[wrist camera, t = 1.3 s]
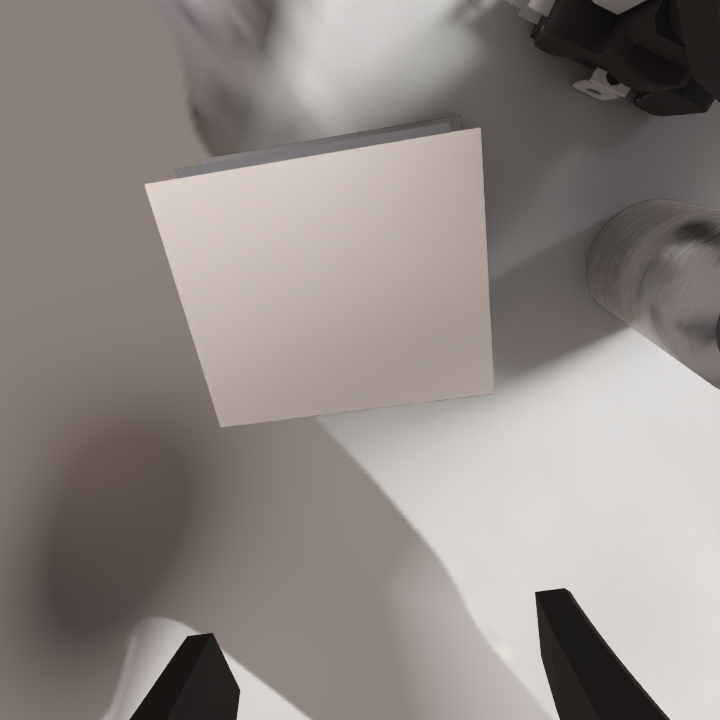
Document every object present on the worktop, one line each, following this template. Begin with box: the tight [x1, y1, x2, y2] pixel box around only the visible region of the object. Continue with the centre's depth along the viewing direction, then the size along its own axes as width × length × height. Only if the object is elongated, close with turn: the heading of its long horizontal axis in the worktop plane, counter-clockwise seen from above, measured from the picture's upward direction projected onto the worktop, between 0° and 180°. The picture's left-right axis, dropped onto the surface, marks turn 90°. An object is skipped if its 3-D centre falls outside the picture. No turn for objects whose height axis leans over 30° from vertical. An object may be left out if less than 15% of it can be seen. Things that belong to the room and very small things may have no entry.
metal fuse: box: [586, 199, 720, 389], centre depth 14 cm, size 4×4×7 cm
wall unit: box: [145, 115, 494, 427], centre depth 14 cm, size 8×7×6 cm
